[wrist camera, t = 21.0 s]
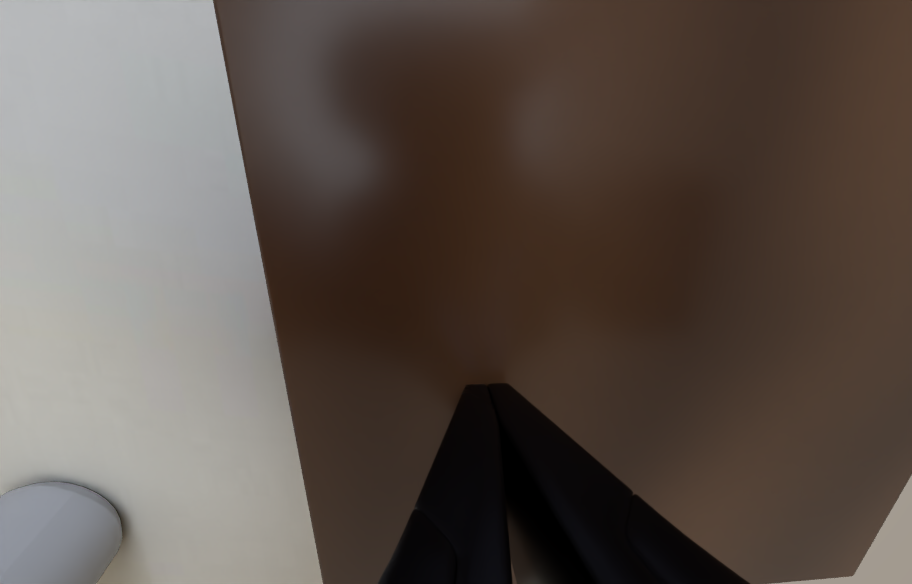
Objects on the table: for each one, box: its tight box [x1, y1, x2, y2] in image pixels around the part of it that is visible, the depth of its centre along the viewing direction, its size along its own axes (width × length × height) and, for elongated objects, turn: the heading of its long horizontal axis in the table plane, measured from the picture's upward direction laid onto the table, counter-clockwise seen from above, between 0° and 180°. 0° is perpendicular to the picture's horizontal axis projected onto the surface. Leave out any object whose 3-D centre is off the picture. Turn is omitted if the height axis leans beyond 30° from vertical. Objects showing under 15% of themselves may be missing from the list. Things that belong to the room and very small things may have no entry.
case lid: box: [213, 0, 912, 584], centre depth 9 cm, size 14×14×1 cm
